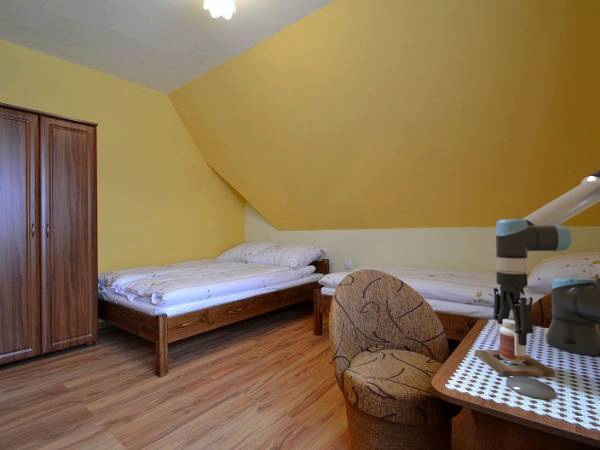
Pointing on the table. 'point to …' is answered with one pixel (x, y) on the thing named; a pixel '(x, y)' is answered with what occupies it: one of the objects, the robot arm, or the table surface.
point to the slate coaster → (530, 387)
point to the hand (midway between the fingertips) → (512, 350)
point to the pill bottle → (509, 342)
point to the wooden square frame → (530, 370)
